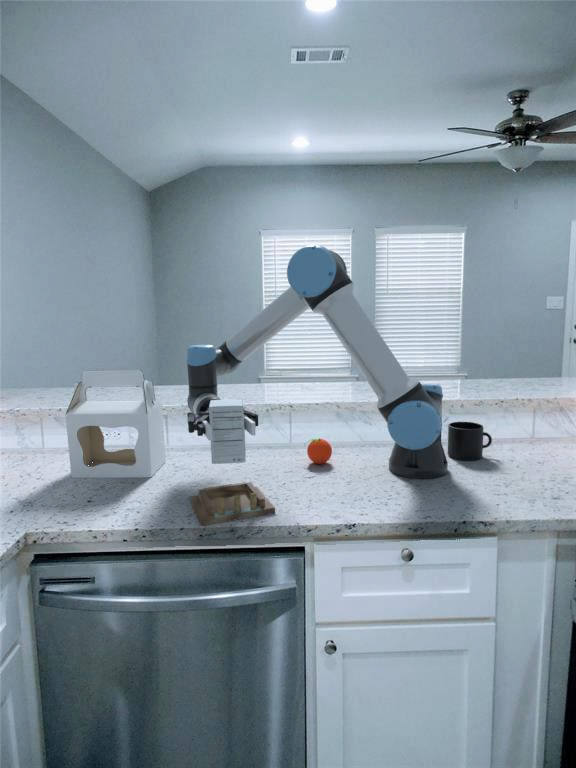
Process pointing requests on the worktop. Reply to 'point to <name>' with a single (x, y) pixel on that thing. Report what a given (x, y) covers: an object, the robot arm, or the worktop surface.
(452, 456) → the mug
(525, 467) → the worktop surface
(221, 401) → the supplement box
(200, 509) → the brown shallow tray
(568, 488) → the worktop surface
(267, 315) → the robot arm
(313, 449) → the clementine
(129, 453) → the gable box
